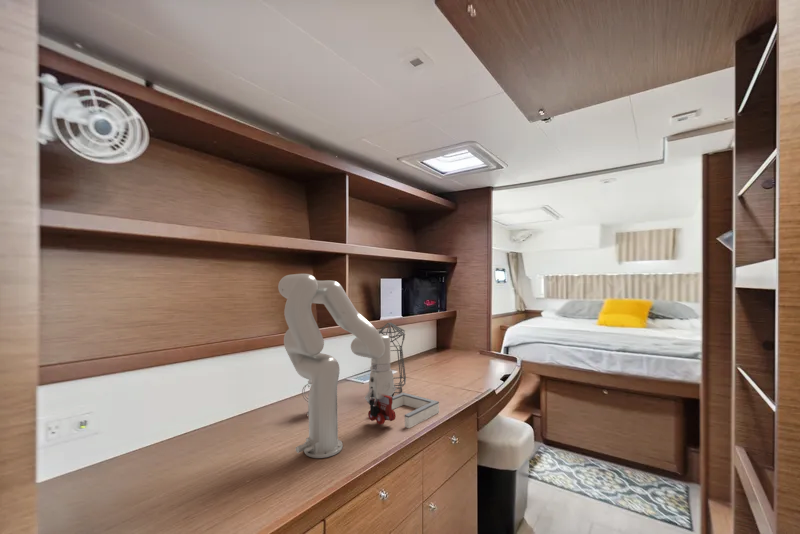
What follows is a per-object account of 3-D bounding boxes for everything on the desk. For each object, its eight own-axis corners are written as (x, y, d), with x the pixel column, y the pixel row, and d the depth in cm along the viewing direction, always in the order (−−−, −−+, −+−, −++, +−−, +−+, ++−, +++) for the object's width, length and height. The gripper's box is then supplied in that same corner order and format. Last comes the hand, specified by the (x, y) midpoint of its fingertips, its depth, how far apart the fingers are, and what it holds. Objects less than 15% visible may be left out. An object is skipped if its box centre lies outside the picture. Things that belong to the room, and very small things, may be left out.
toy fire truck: (378, 413, 142) (378, 387, 142) (398, 422, 132) (398, 394, 133) (364, 418, 137) (364, 391, 138) (384, 427, 128) (384, 398, 128)
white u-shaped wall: (409, 428, 132) (408, 416, 132) (372, 415, 145) (371, 404, 145) (439, 412, 147) (438, 401, 147) (403, 402, 160) (402, 392, 160)
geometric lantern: (408, 395, 170) (404, 324, 171) (376, 396, 170) (373, 325, 171) (408, 385, 186) (405, 320, 187) (379, 386, 186) (375, 321, 187)
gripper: (371, 372, 127) (372, 422, 126) (402, 364, 140) (403, 409, 139) (357, 369, 132) (358, 417, 131) (389, 361, 145) (389, 404, 144)
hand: (381, 412), depth 135 cm, fingers closed on toy fire truck, 7 cm apart
